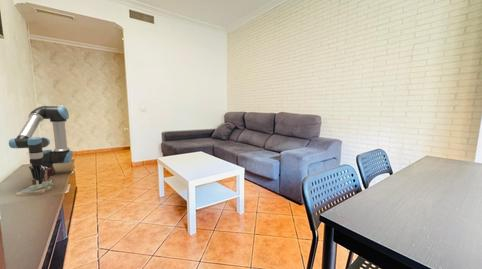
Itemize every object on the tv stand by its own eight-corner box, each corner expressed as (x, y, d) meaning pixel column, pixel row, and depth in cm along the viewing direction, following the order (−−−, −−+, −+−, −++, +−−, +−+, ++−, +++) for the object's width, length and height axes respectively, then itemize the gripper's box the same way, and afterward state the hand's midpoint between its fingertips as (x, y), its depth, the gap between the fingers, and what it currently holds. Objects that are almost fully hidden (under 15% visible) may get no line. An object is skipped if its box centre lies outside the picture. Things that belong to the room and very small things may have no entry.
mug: (37, 186, 174) (35, 170, 172) (31, 184, 177) (30, 168, 176) (56, 181, 185) (54, 166, 183) (50, 179, 189) (49, 165, 187)
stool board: (34, 186, 173) (33, 179, 172) (54, 185, 176) (53, 178, 175) (16, 196, 155) (15, 188, 155) (39, 194, 159) (38, 187, 158)
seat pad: (27, 187, 166) (27, 187, 166) (44, 187, 168) (43, 186, 168) (16, 193, 155) (16, 193, 155) (34, 192, 158) (34, 192, 158)
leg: (49, 183, 174) (49, 178, 174) (53, 184, 174) (53, 179, 173) (29, 190, 160) (29, 185, 159) (33, 191, 159) (33, 185, 159)
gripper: (23, 158, 157) (27, 188, 161) (37, 159, 155) (41, 190, 158) (35, 156, 165) (38, 185, 168) (48, 157, 162) (51, 187, 166)
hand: (39, 187), depth 163 cm, fingers closed
